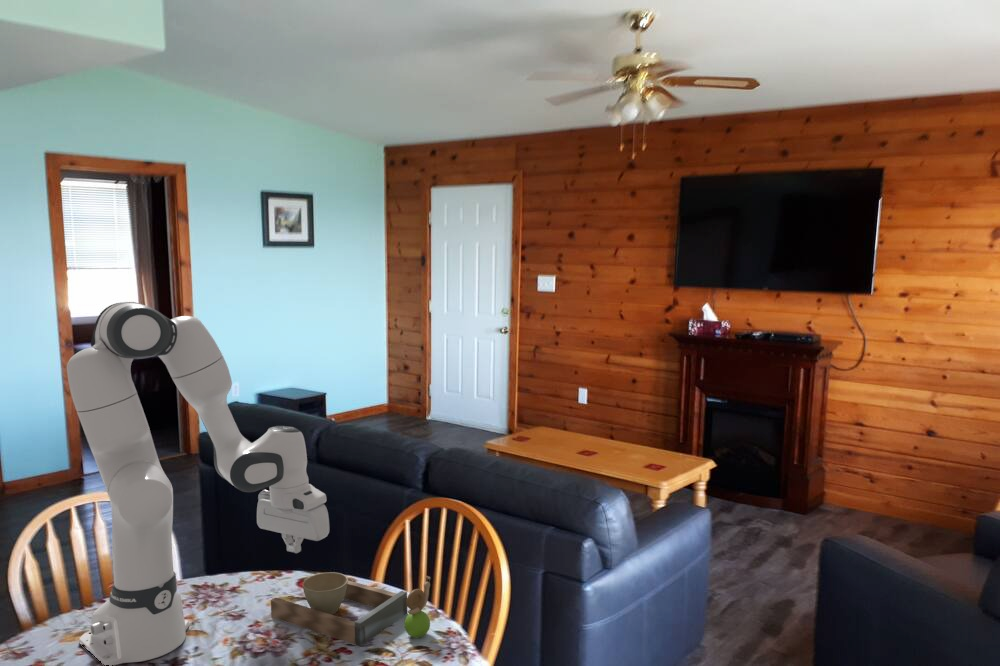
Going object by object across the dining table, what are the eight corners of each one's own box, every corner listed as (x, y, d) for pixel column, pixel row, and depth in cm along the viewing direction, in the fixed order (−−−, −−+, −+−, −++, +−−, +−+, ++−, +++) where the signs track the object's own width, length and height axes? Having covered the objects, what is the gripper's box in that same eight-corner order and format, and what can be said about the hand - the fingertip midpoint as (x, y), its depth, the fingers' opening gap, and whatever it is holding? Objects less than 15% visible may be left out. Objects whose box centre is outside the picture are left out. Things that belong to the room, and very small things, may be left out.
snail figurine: (439, 633, 151) (437, 579, 150) (416, 645, 146) (415, 590, 145) (421, 625, 155) (420, 572, 154) (399, 636, 150) (398, 582, 149)
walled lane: (271, 617, 159) (270, 595, 159) (321, 588, 173) (321, 569, 172) (360, 646, 146) (360, 623, 146) (407, 613, 160) (406, 592, 160)
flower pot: (337, 624, 156) (336, 592, 155) (295, 620, 158) (294, 589, 157) (355, 603, 165) (354, 573, 165) (316, 599, 167) (315, 570, 167)
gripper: (247, 492, 167) (252, 548, 168) (312, 505, 157) (316, 564, 158) (268, 484, 172) (272, 539, 174) (331, 496, 162) (335, 553, 164)
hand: (294, 551), depth 166 cm, fingers closed
